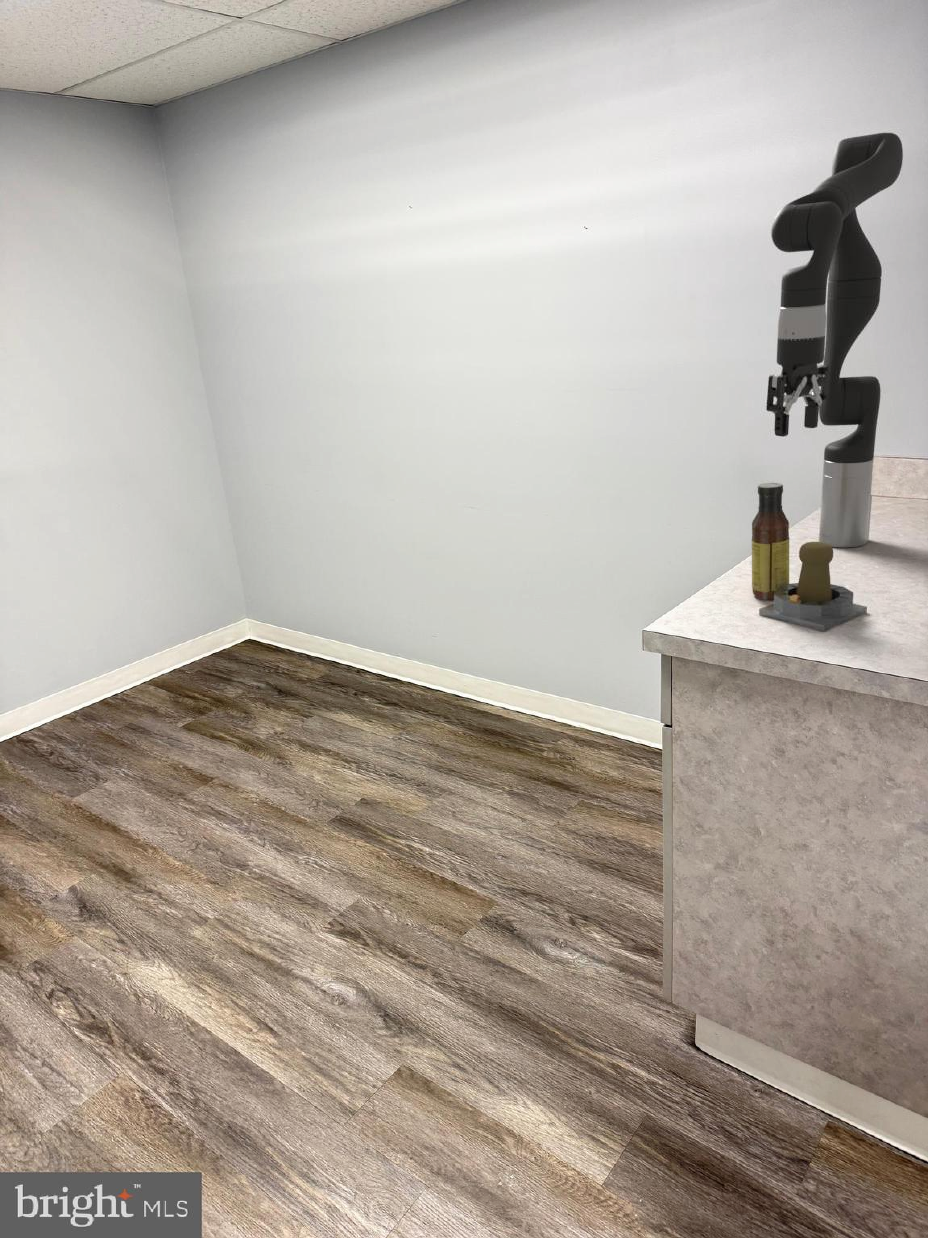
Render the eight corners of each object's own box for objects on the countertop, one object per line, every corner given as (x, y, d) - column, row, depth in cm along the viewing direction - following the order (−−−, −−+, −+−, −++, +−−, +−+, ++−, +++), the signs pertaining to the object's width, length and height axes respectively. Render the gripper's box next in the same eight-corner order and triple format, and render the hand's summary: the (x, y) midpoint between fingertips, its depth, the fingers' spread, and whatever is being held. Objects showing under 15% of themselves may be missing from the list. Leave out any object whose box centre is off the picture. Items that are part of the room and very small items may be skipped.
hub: (801, 597, 157) (803, 573, 155) (866, 612, 147) (868, 587, 146) (759, 614, 150) (760, 590, 149) (824, 631, 141) (825, 605, 139)
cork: (795, 613, 146) (799, 548, 143) (791, 601, 152) (794, 538, 148) (835, 613, 145) (839, 547, 141) (829, 601, 151) (833, 537, 147)
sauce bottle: (788, 590, 160) (794, 480, 154) (788, 602, 155) (794, 488, 148) (750, 589, 162) (754, 480, 156) (748, 600, 157) (752, 488, 150)
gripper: (795, 339, 144) (790, 441, 150) (846, 329, 151) (839, 426, 157) (755, 339, 149) (752, 436, 155) (806, 329, 157) (801, 423, 163)
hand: (796, 431), depth 156 cm, fingers open, 8 cm apart
